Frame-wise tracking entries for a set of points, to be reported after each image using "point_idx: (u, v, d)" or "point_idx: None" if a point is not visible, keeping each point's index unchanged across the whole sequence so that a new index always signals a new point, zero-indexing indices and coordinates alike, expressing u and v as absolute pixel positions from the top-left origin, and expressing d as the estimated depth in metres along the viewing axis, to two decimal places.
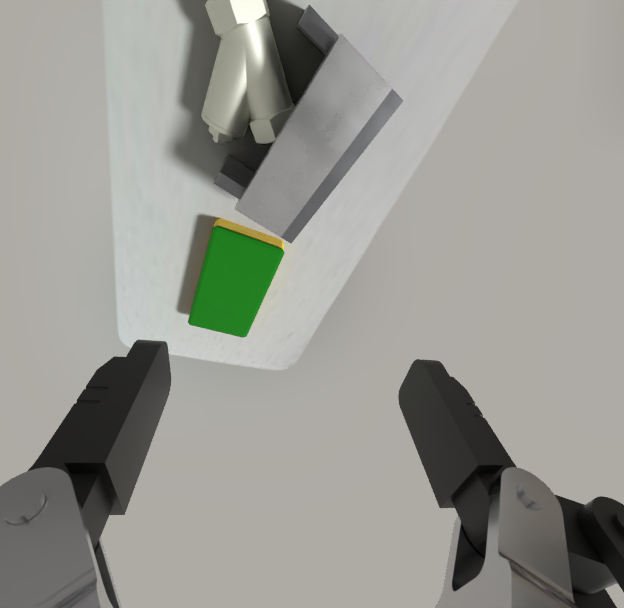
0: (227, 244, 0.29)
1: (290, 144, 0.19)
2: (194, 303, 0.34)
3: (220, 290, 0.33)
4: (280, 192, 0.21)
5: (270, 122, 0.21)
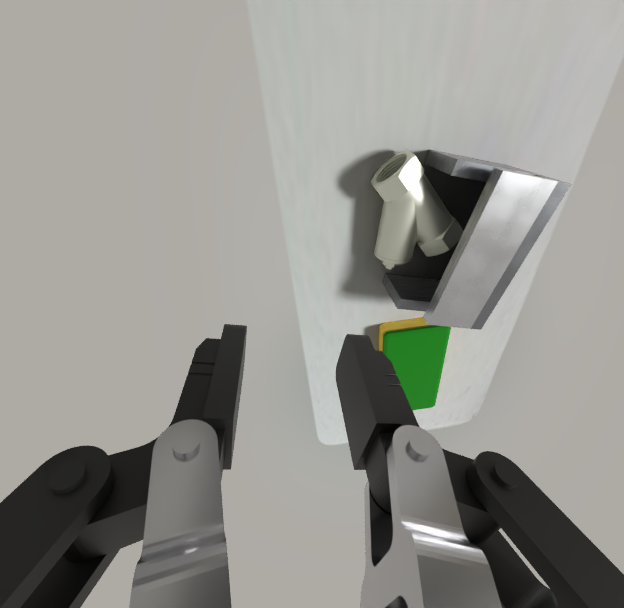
0: (399, 342, 0.32)
1: (470, 260, 0.22)
2: None
3: (402, 378, 0.35)
4: (465, 297, 0.24)
5: (442, 240, 0.24)
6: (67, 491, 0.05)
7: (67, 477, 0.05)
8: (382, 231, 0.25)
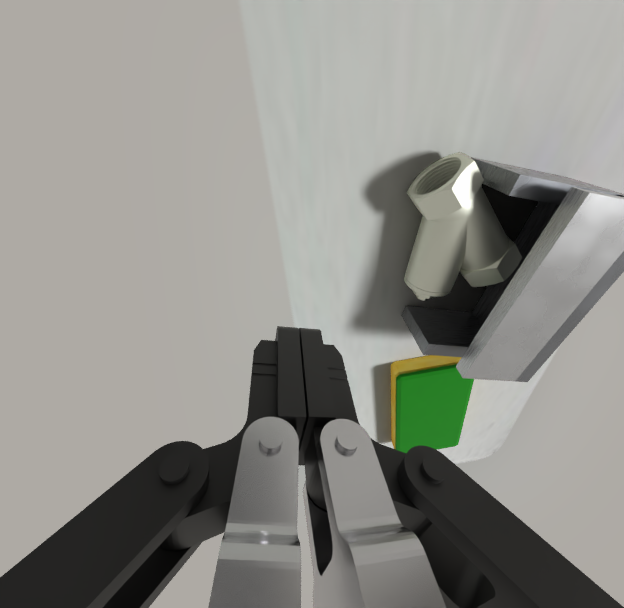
0: (416, 385, 0.27)
1: (526, 305, 0.17)
2: (398, 439, 0.32)
3: (420, 421, 0.30)
4: (514, 347, 0.18)
5: (497, 269, 0.19)
6: (176, 483, 0.05)
7: (174, 470, 0.05)
8: (418, 255, 0.19)
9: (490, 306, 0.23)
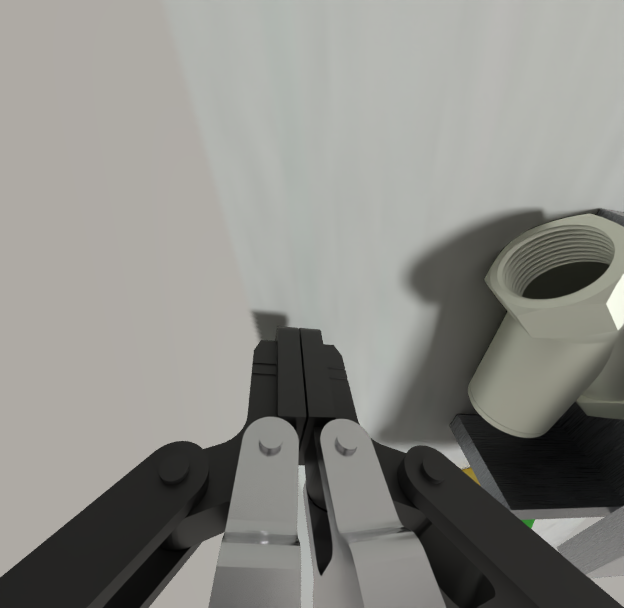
0: None
1: None
2: None
3: None
4: None
5: None
6: (176, 483, 0.05)
7: (175, 470, 0.05)
8: (503, 378, 0.11)
9: (591, 420, 0.15)
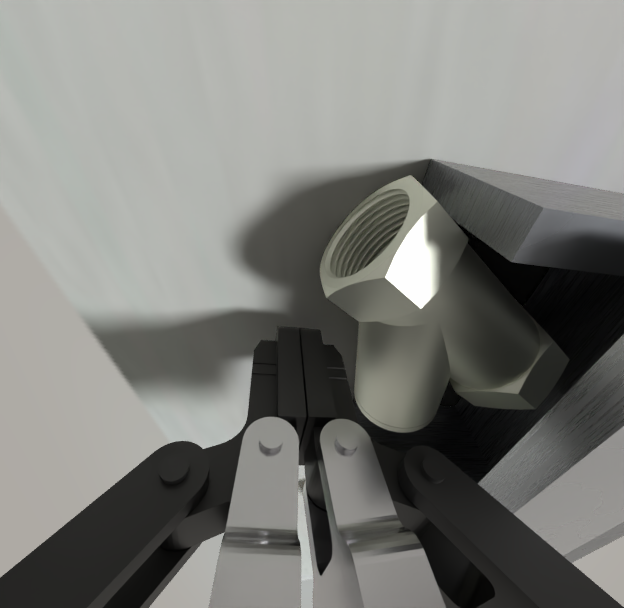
0: None
1: (556, 503, 0.07)
2: None
3: None
4: None
5: (520, 394, 0.09)
6: (176, 483, 0.05)
7: (174, 470, 0.05)
8: (363, 368, 0.10)
9: (483, 408, 0.14)
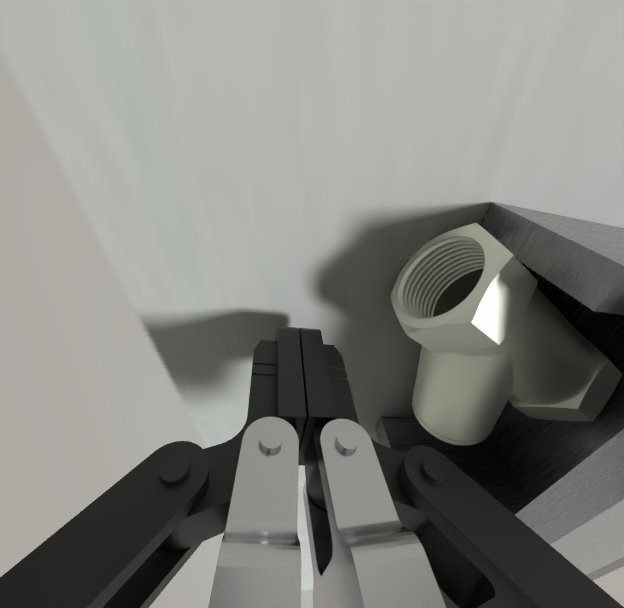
0: None
1: (612, 521, 0.08)
2: None
3: None
4: (573, 560, 0.10)
5: (579, 409, 0.10)
6: (176, 483, 0.05)
7: (174, 470, 0.05)
8: (428, 389, 0.11)
9: (514, 426, 0.15)
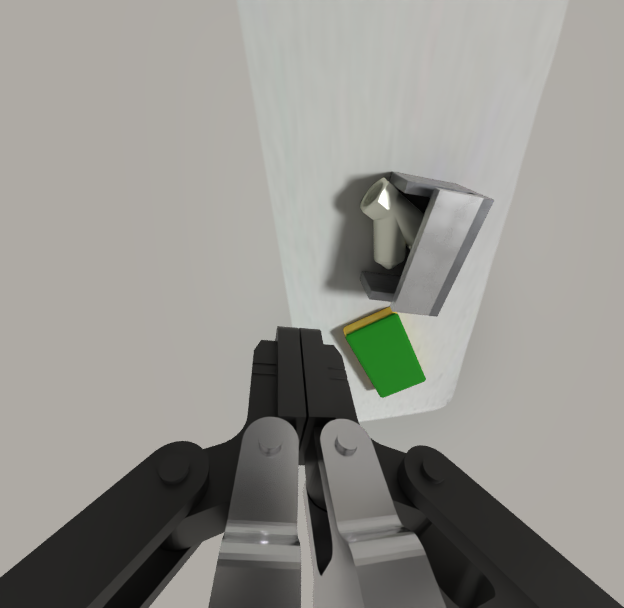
0: (361, 339, 0.38)
1: (422, 259, 0.28)
2: (374, 384, 0.43)
3: (381, 365, 0.41)
4: (421, 288, 0.29)
5: None
6: (176, 483, 0.05)
7: (175, 470, 0.05)
8: (376, 241, 0.31)
9: None
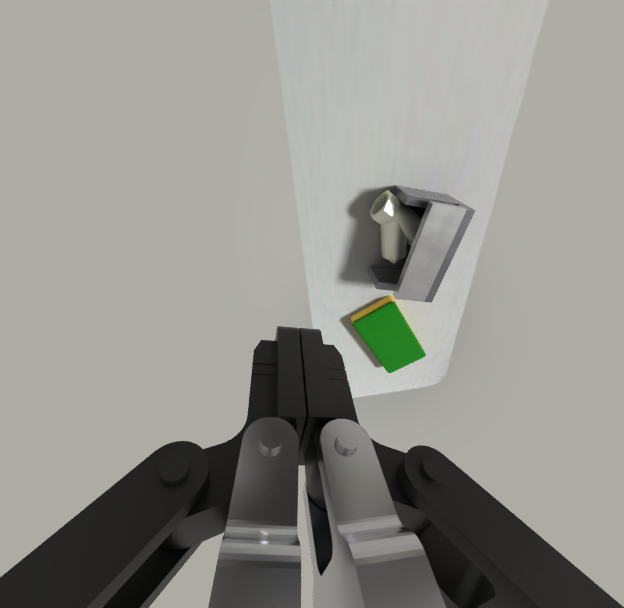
0: (365, 324, 0.46)
1: (419, 256, 0.35)
2: (381, 361, 0.51)
3: (385, 345, 0.49)
4: (418, 280, 0.37)
5: None
6: (176, 483, 0.05)
7: (175, 470, 0.05)
8: (383, 241, 0.38)
9: None
